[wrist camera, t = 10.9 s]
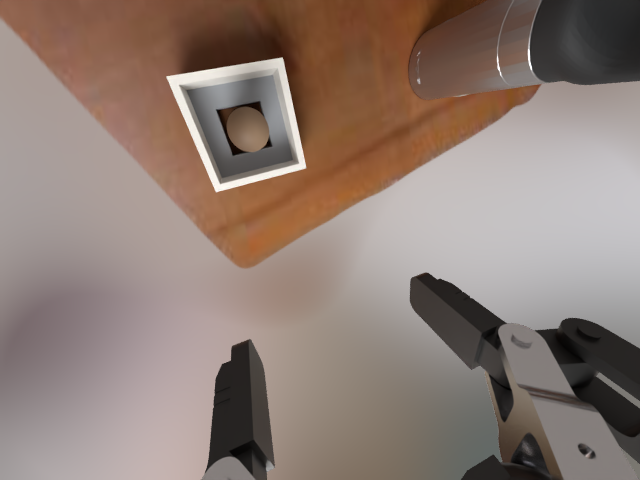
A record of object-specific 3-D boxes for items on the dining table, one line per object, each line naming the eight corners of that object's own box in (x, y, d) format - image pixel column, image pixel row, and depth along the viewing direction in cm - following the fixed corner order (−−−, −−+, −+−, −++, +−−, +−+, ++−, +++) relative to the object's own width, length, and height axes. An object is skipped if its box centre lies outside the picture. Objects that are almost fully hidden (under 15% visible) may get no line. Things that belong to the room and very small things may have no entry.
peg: (254, 110, 31) (262, 102, 22) (263, 141, 33) (274, 146, 24) (225, 116, 30) (219, 111, 21) (236, 147, 32) (235, 156, 23)
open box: (275, 69, 30) (282, 57, 25) (296, 162, 36) (306, 168, 30) (179, 86, 27) (166, 76, 22) (219, 182, 33) (216, 192, 28)
